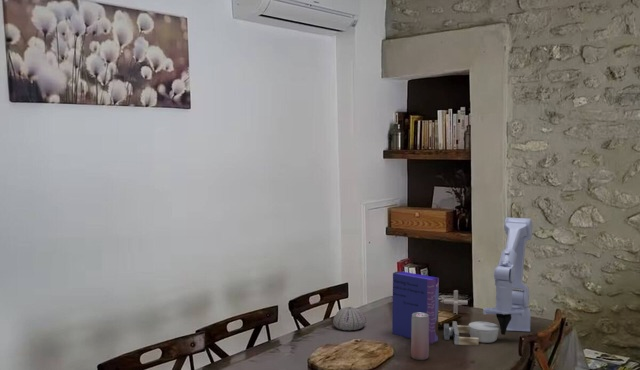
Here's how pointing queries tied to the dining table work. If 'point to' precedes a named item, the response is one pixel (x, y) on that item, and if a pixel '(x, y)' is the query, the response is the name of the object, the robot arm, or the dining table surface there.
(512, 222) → the robot arm
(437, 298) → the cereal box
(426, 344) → the beverage can
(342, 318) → the sea urchin shell
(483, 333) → the ramekin
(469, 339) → the pair of beige bars
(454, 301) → the pipe connector
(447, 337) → the grey h-shaped piece
